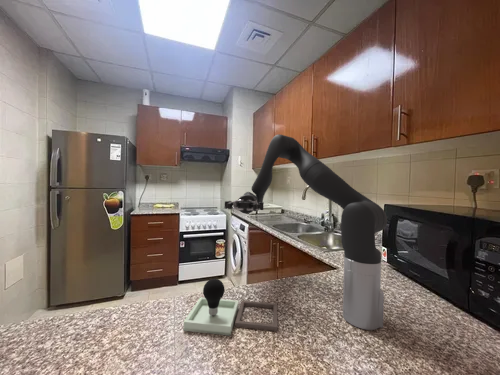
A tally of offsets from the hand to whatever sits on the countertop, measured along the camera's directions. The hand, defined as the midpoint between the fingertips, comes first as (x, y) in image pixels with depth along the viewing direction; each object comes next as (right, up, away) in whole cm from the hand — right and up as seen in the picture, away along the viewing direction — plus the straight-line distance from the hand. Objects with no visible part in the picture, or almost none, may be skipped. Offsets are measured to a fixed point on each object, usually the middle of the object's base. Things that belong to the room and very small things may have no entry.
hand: (241, 206), depth 70 cm
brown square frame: (+5, -30, -11) cm, 32 cm away
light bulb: (-7, -29, -13) cm, 33 cm away
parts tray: (-7, -30, -13) cm, 33 cm away
